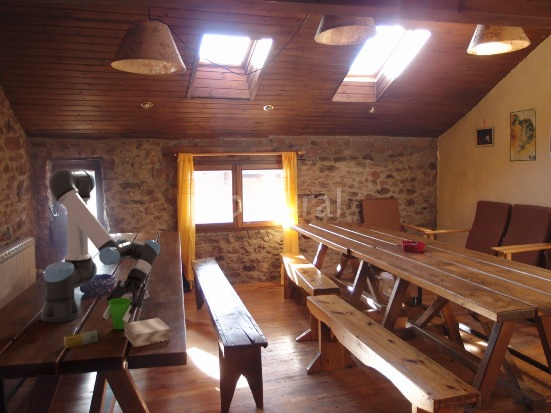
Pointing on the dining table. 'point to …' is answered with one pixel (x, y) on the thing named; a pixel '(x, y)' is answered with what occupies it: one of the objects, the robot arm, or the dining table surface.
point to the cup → (119, 311)
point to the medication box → (81, 339)
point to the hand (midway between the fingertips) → (114, 319)
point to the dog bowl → (129, 294)
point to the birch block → (146, 331)
